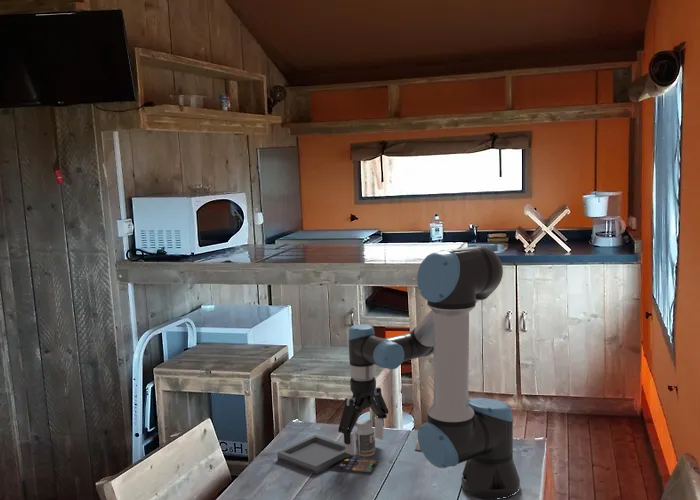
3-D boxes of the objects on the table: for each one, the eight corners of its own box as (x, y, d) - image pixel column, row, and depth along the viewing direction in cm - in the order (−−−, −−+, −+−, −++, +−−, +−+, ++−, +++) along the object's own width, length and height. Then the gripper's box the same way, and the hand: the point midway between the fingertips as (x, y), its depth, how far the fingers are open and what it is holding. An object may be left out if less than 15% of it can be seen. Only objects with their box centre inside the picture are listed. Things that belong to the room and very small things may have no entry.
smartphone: (329, 459, 205) (329, 455, 205) (378, 463, 201) (378, 459, 201) (320, 471, 198) (320, 467, 197) (371, 476, 193) (370, 471, 193)
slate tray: (354, 455, 206) (353, 447, 206) (316, 474, 194) (315, 466, 194) (315, 442, 217) (315, 434, 217) (277, 459, 205) (277, 452, 205)
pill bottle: (378, 451, 208) (377, 419, 207) (369, 458, 203) (367, 426, 202) (362, 448, 211) (361, 416, 210) (352, 455, 206) (351, 423, 205)
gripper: (379, 364, 216) (381, 429, 219) (324, 386, 197) (327, 456, 200) (398, 368, 211) (400, 435, 214) (343, 391, 192) (346, 463, 195)
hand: (364, 445), depth 207 cm, fingers open, 13 cm apart
